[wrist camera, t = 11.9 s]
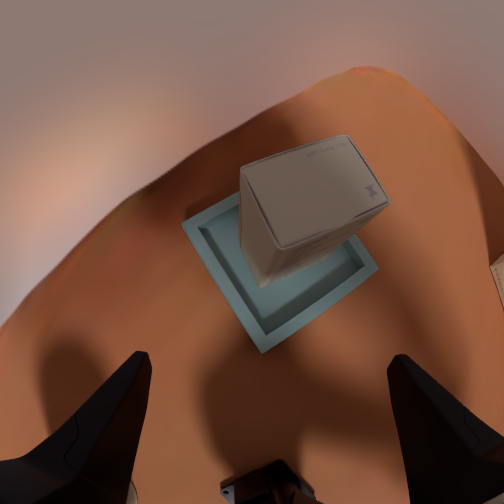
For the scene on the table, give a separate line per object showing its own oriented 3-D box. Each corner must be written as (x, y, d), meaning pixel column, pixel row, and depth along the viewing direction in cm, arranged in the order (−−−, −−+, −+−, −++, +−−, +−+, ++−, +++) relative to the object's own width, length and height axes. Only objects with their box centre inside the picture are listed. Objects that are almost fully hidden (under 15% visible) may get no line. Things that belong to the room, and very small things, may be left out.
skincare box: (301, 217, 25) (349, 129, 13) (324, 262, 24) (396, 201, 12) (234, 244, 24) (235, 162, 12) (257, 293, 23) (280, 252, 11)
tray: (369, 273, 24) (379, 268, 22) (259, 352, 22) (262, 354, 20) (295, 171, 27) (299, 159, 25) (184, 231, 24) (180, 223, 23)
